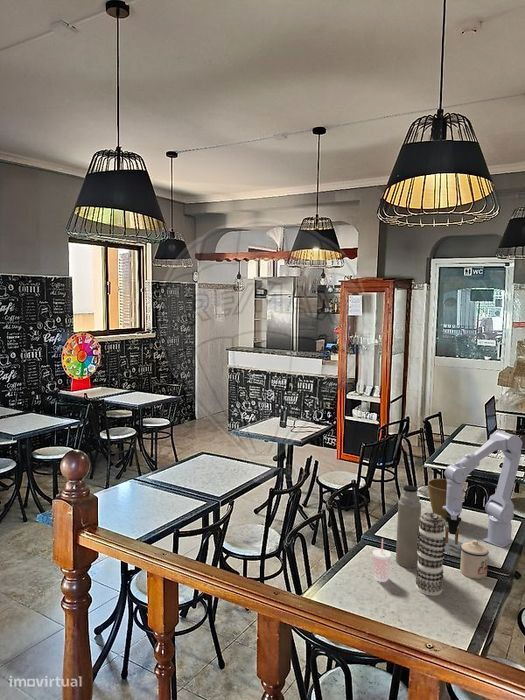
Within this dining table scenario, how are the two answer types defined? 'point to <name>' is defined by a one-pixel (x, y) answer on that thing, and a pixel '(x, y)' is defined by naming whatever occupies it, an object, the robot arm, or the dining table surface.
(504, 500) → the robot arm
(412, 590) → the dining table surface
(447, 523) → the stool
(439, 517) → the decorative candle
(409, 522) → the thermos bottle
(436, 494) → the plant pot
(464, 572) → the teacup with lid
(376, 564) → the beverage cup
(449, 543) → the mat
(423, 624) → the dining table surface
